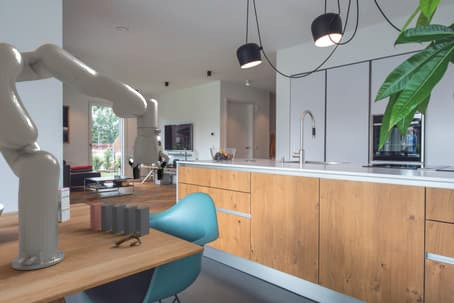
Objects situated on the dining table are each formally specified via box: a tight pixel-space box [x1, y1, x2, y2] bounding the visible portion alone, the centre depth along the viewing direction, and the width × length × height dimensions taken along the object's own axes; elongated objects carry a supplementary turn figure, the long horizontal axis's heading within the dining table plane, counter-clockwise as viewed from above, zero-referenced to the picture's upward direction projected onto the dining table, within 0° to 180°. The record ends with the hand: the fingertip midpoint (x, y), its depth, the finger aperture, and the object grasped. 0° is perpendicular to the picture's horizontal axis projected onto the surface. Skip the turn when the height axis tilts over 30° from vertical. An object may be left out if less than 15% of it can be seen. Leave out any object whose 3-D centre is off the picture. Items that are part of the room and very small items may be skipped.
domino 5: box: [135, 206, 150, 238], centre depth 108 cm, size 2×5×10 cm, turn 158°
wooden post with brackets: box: [114, 232, 142, 248], centre depth 96 cm, size 2×8×4 cm, turn 104°
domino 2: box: [100, 202, 116, 233], centre depth 114 cm, size 2×5×10 cm, turn 158°
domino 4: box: [123, 204, 139, 236], centre depth 110 cm, size 2×5×10 cm, turn 158°
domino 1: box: [89, 202, 106, 231], centre depth 116 cm, size 2×5×10 cm, turn 158°
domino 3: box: [111, 203, 127, 234], centre depth 112 cm, size 2×5×10 cm, turn 158°
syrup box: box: [58, 187, 71, 223], centre depth 128 cm, size 6×6×14 cm
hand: (148, 179), depth 107 cm, fingers open, 9 cm apart
